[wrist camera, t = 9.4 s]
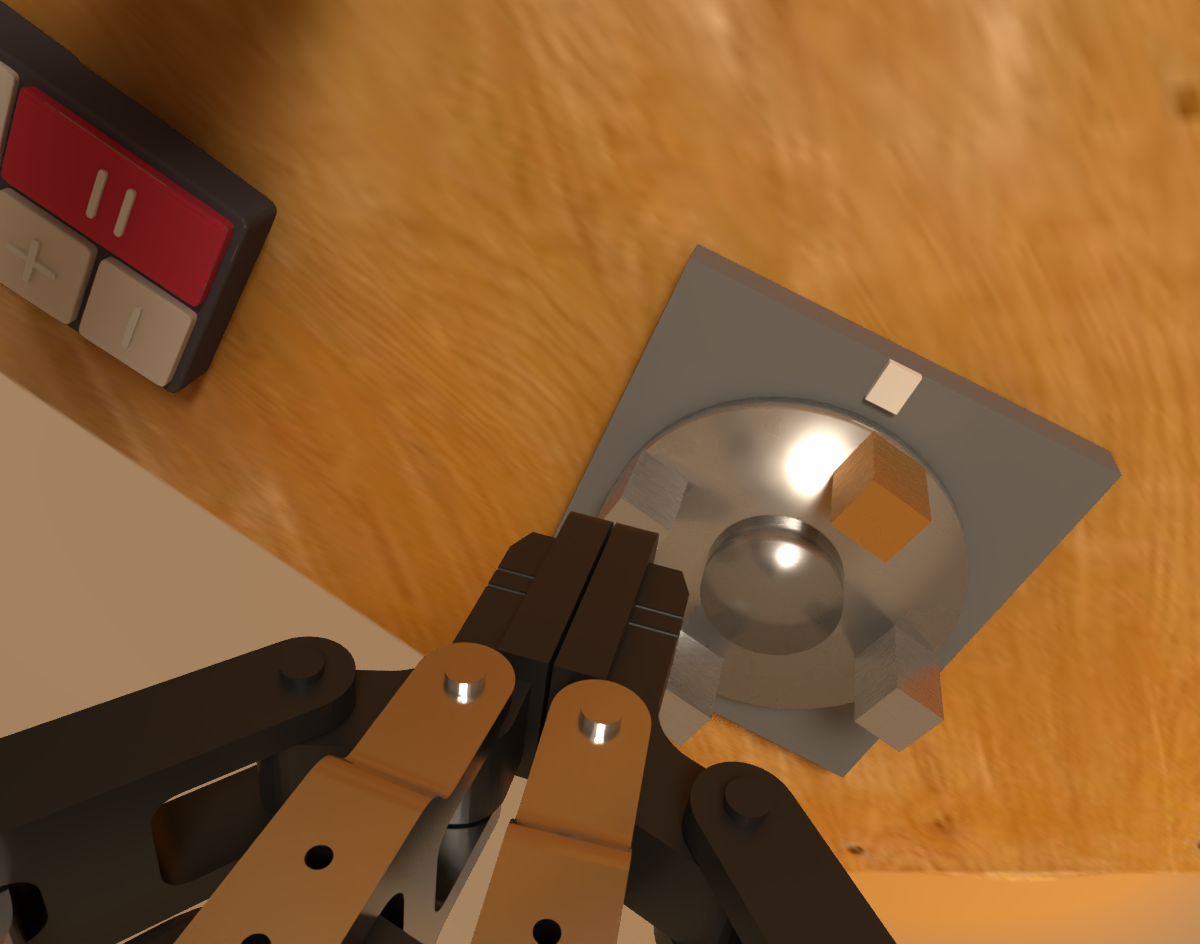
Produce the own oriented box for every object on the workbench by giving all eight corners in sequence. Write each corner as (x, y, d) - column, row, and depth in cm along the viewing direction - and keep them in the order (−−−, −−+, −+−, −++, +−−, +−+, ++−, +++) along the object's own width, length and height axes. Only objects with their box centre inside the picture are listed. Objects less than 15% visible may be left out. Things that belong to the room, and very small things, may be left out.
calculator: (166, 404, 44) (-118, 219, 42) (215, 367, 48) (-45, 195, 46) (240, 228, 39) (-85, 2, 36) (290, 201, 42) (-4, -6, 40)
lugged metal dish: (571, 414, 40) (535, 472, 36) (958, 377, 35) (971, 438, 31) (641, 691, 47) (618, 766, 43) (972, 693, 42) (984, 779, 38)
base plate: (528, 589, 49) (513, 617, 47) (697, 244, 37) (688, 261, 35) (843, 748, 49) (842, 783, 47) (1110, 451, 37) (1124, 480, 35)
